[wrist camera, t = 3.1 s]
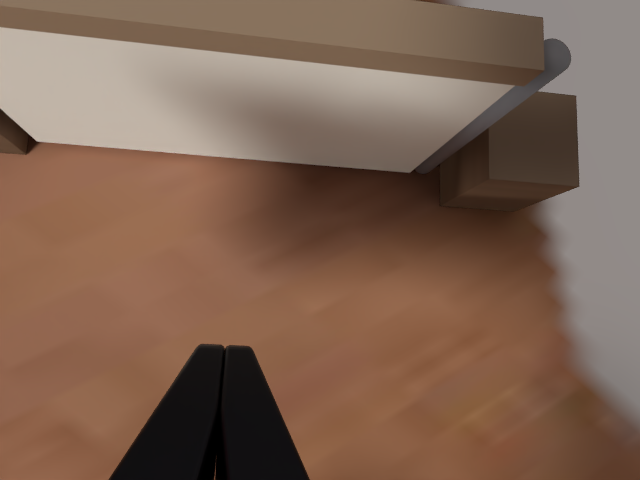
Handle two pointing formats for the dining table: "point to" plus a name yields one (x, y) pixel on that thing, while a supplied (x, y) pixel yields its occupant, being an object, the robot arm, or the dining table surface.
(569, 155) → the gate frame
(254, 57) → the gate
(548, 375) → the dining table surface
